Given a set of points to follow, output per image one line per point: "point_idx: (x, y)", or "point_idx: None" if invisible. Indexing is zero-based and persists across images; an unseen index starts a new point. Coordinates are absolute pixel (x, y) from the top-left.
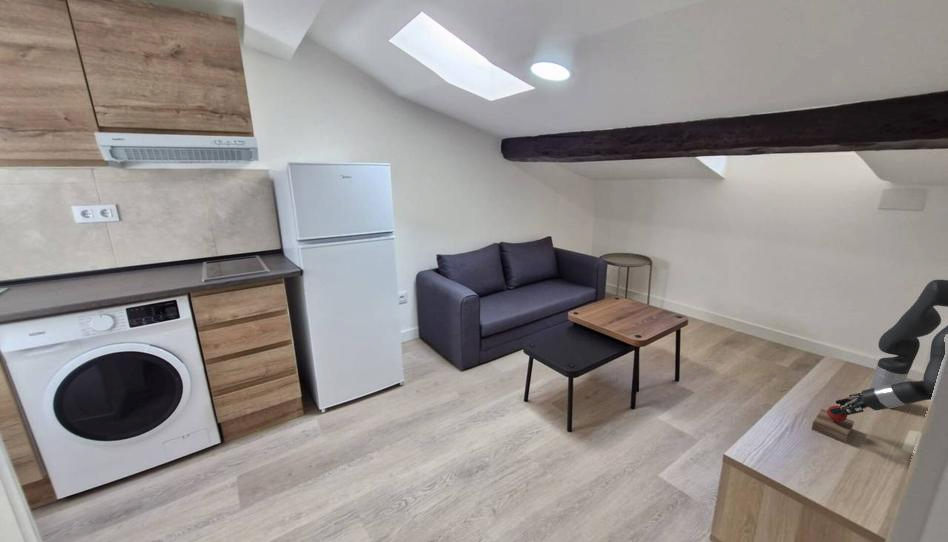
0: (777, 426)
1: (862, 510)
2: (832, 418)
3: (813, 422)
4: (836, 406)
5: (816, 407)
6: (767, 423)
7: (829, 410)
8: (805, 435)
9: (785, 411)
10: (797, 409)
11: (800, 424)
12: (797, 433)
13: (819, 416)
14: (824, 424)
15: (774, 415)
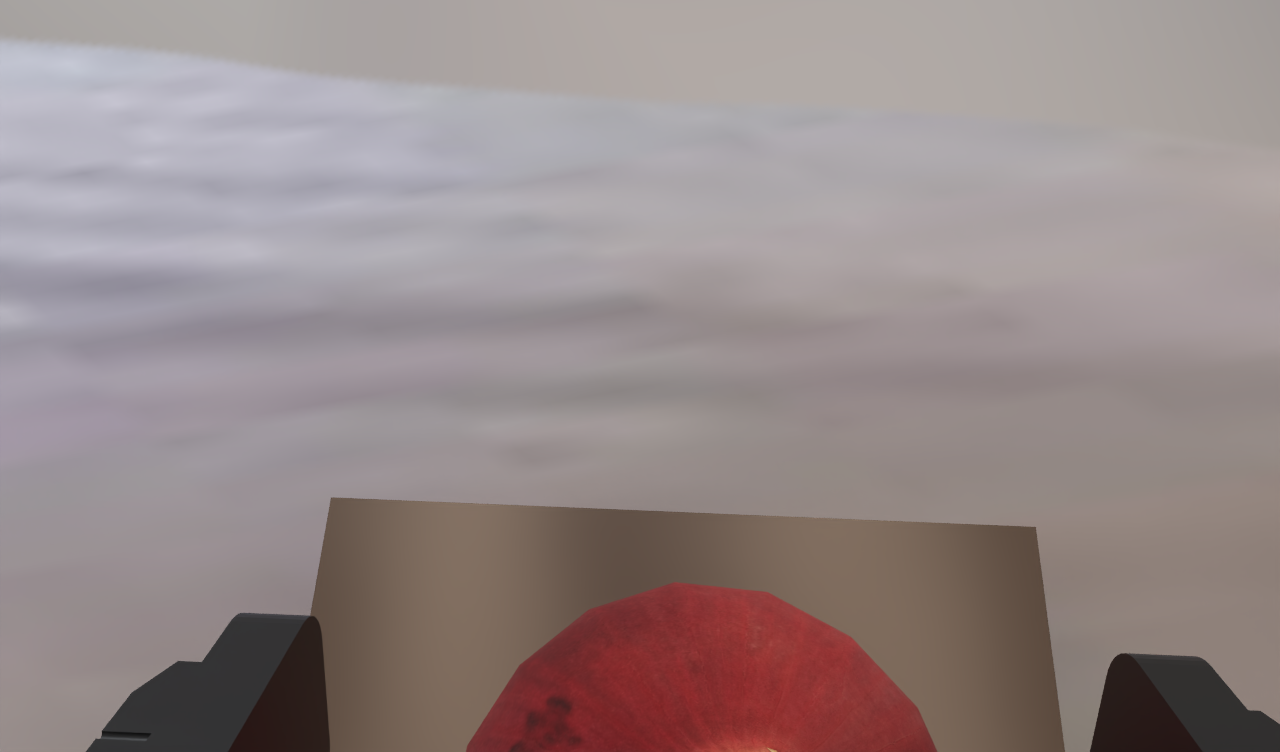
0: (88, 186)
1: None
2: None
3: (335, 512)
4: (677, 741)
5: (1271, 485)
6: (82, 83)
7: (566, 627)
8: (89, 529)
9: (656, 175)
10: (888, 281)
11: (412, 405)
12: (69, 426)
13: (644, 549)
14: (348, 692)
15: (397, 99)
